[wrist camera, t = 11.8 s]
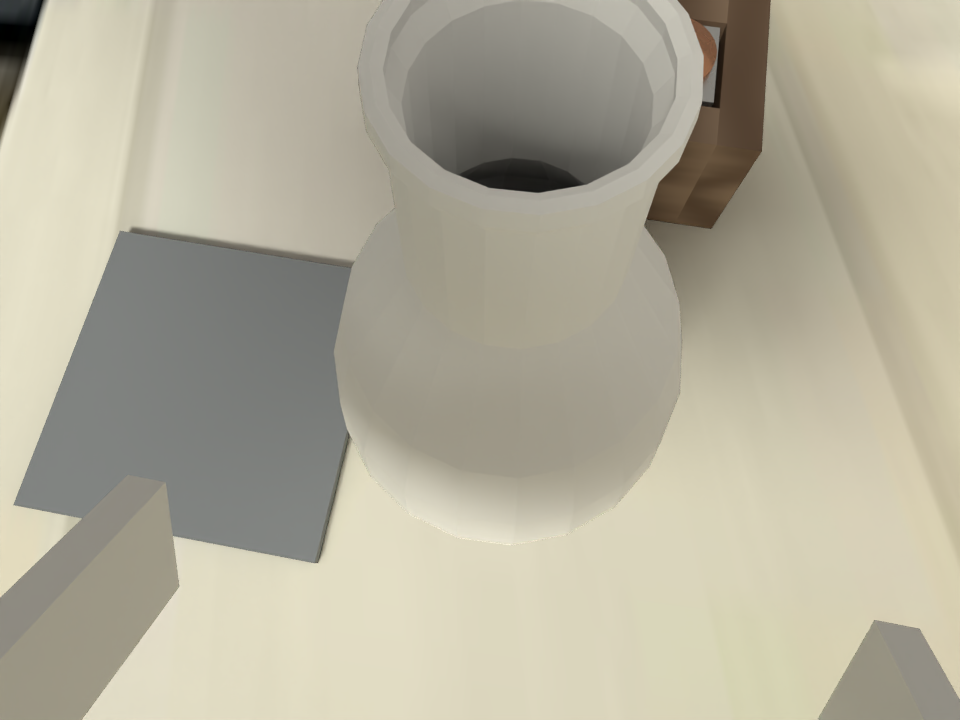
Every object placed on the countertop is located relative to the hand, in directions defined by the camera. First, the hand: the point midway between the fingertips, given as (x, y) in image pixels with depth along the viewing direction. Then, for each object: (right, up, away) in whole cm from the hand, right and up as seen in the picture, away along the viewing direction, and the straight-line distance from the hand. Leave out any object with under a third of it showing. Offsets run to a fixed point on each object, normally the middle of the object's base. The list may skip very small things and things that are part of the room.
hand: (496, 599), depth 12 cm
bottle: (+1, +1, +20) cm, 21 cm away
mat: (-14, +3, +21) cm, 26 cm away
